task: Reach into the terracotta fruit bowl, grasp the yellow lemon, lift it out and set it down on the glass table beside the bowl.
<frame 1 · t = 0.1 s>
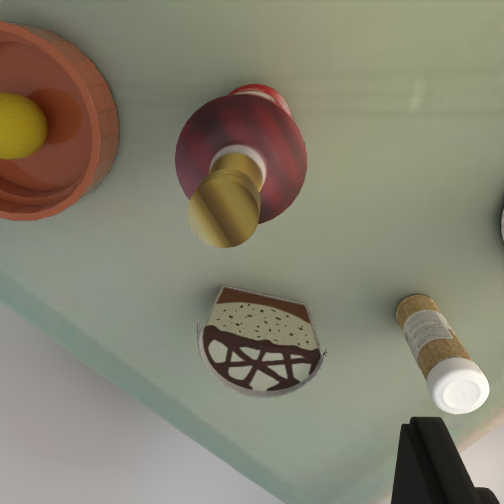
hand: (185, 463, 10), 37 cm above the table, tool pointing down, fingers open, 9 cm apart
sprinkles bottle: (414, 310, 50), on the table
lemon: (34, 120, 43), resting on fruit bowl
food container: (258, 317, 51), on the table
liquor: (255, 122, 43), on the table
fruit bowl: (35, 120, 44), on the table
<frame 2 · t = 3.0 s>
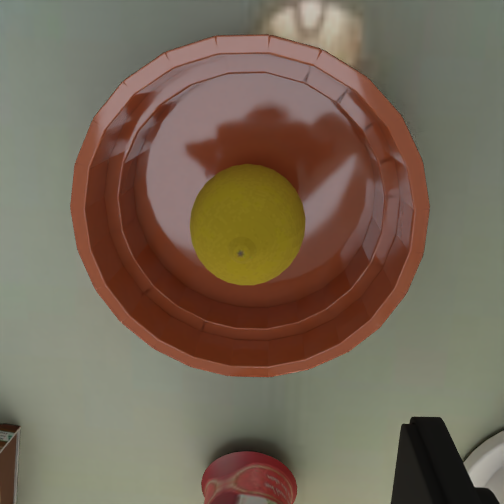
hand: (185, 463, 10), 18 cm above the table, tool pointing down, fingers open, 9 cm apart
lemon: (252, 200, 26), resting on fruit bowl
liquor: (250, 471, 34), on the table
fruit bowl: (253, 199, 26), on the table
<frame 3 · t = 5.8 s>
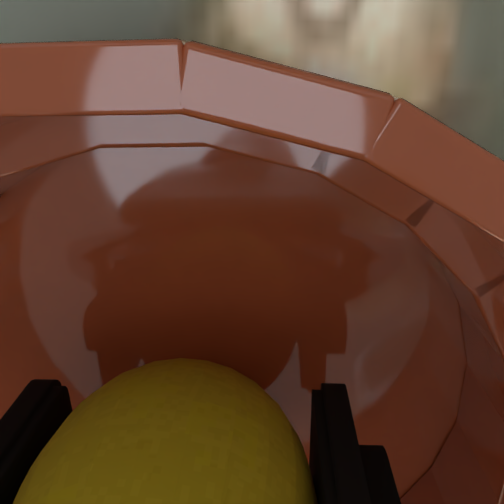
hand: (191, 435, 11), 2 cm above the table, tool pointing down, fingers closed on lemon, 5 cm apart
lemon: (203, 382, 12), resting on fruit bowl, touching gripper
fruit bowl: (204, 378, 13), on the table
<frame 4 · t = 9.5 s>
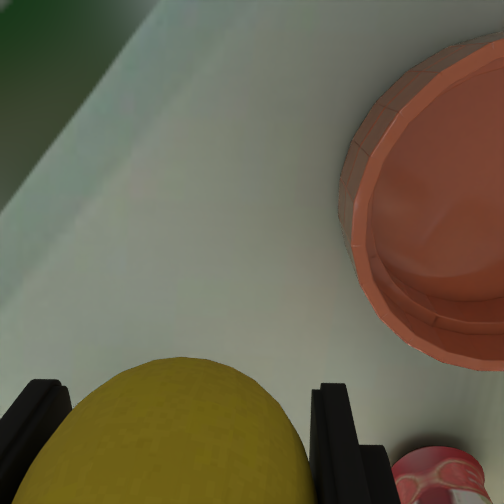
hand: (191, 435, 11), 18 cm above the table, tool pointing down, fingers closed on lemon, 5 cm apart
lemon: (203, 381, 12), point 16 cm above the table, touching gripper
liquor: (428, 466, 34), on the table
fruit bowl: (483, 192, 26), on the table
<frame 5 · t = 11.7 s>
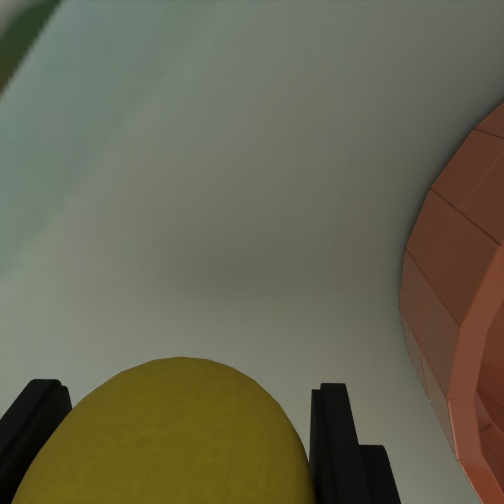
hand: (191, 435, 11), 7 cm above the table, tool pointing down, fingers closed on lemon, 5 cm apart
lemon: (203, 381, 12), point 5 cm above the table, touching gripper
when the fingers open (2 cm above the table, at t = 13.4 s): lemon stays where it is, on the table.
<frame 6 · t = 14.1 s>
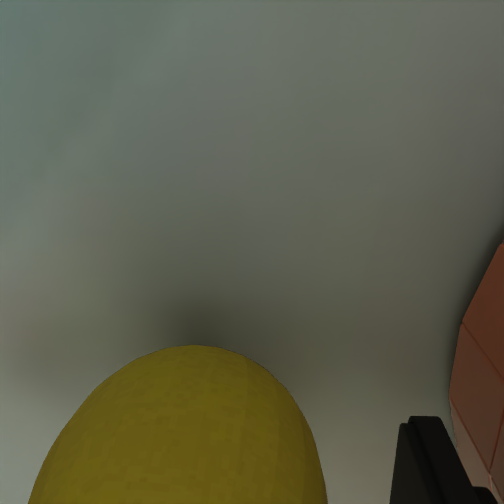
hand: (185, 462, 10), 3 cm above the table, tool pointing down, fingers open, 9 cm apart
lemon: (212, 371, 13), on the table
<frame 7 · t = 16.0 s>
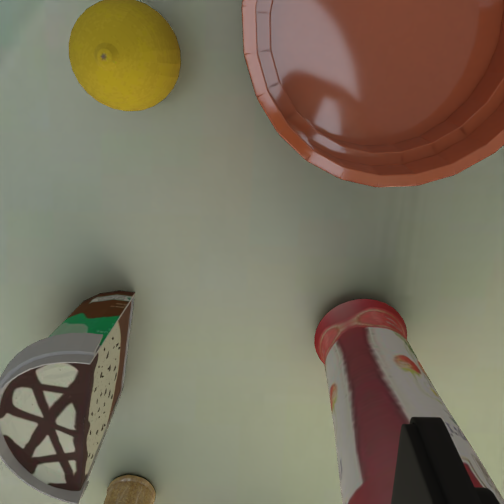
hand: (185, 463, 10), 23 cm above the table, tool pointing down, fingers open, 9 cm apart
sprinkles bottle: (133, 488, 43), on the table
lemon: (146, 57, 28), on the table
food container: (91, 334, 36), on the table
liquor: (356, 328, 36), on the table
fruit bowl: (383, 29, 27), on the table
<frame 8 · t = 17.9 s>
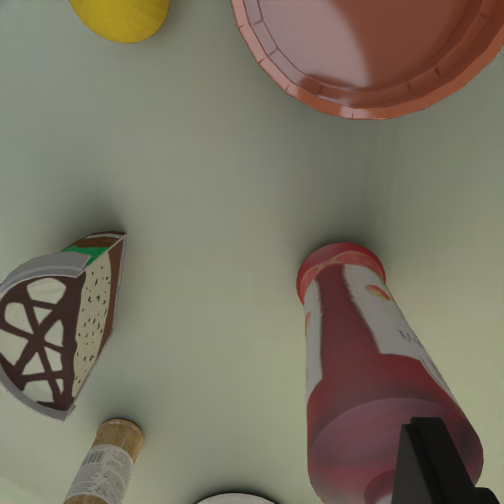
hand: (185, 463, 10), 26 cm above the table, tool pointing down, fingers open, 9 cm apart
sprinkles bottle: (122, 433, 45), on the table
lemon: (140, 0, 30), on the table
food container: (84, 274, 38), on the table
liquor: (338, 275, 37), on the table
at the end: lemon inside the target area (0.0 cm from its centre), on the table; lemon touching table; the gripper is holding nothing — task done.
